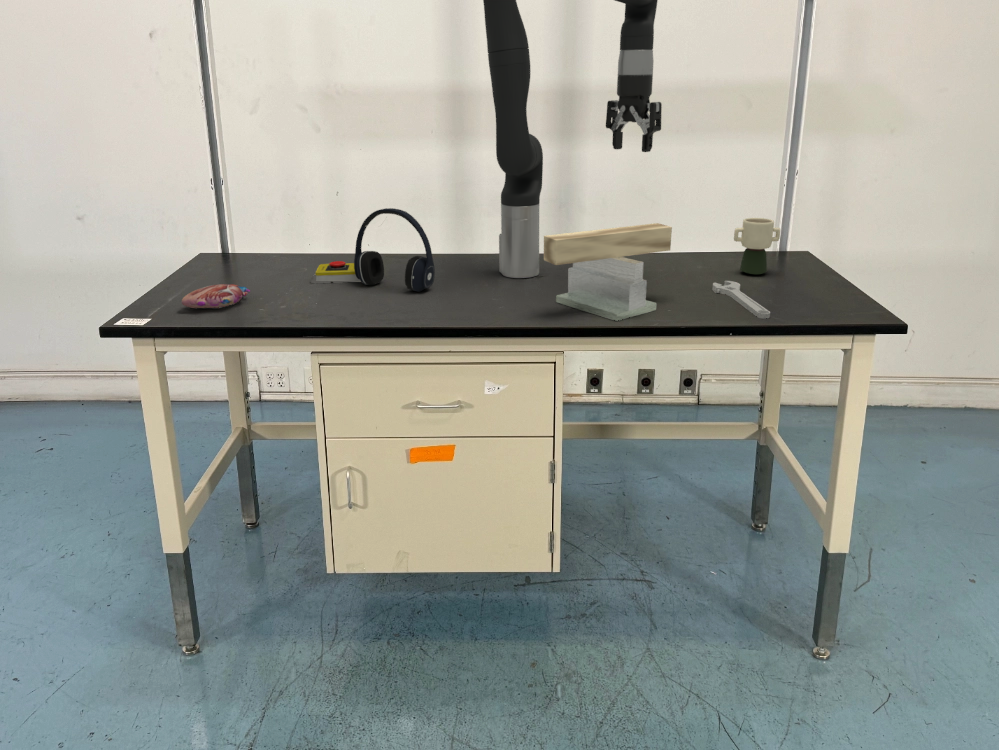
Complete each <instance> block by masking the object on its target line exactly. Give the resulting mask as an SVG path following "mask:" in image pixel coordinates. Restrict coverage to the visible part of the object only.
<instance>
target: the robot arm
mask: <svg viewBox="0 0 999 750" xmlns="http://www.w3.org/2000/svg"><path fill="white" fill-rule="evenodd" d="M482 1H483V13H484V24H485V25H484V26H485V34H486V44H487V45H486V47H487V57H488V58H487V60H488V65H489V66H488V67H489V75H490V81H491V90H492V97H493V98H492V99H493V106H494V111H495V112H494V113H495V148H496V149H495V150H496V152H495V153H496V161H497V163H498V164H497V165H498V166H499V168H500V169H501V171H502V172H504V174H505V177H504V178H505V179H504V184H503V187H502V191H501V193H500V219H501V220H500V226H501V227H500V230H501V233H499V235H498V246H499V247H498V256H499V257H498V258H499V259H498V261H499V264H498V265H499V266H498V267H499V273H501V275H503V276H504V277H507V278H514V279H525V278H533V277H536V276H538V275H539V274H540V199H541V198H540V197H541V192H542V189H543V188H542V186H543V172H544V171H543V170H544V169H543V168H544V156H543V155H544V154H543V152H544V151H543V146H542V144H541V143H540V140H539V139H538V138H537V137H536V136H535V135H533V134H531V133H530V131H529V130H530V129H529V124H528V115H527V105H528V97H529V92H530V91H529V90H530V83H531V56H530V47H529V41H528V37H527V36H528V35H527V31H526V29H525V25H524V21H523V19H522V16H521V13H520V9H519V7H518V2H517V0H482ZM614 1H615V2H618V3H622V4H625V5H624V6H625V8H624V21H623V23H622V25H621V29H620V35H619V36H620V37H619V39H620V40H619V41H620V42H619V54H618V61H617V82H616V95H617V96H618V100H617V99H616V100H615V99H614V100H608V101H607V103H606V115H605V116H606V119H605V128H606V129H610V131H611V132H612V142H611V143H612V148H613V150H622V149H623V140H624V139H623V138H624V137H623V136H624V133H623V130H624V127H625V126H626V125H627V124H628V123H629V122H630V123H636V124H637V125H638V127H640V129H641V131H642V133H643V134H642V141H641V152H643V153H650V152H651V150H652V149H653V141H654V140H653V139H654V137H653V136H654V133H657V132H660V131H661V130H662V108H663V107H662V102H661V101H652V102H651V100H650V97H651V95H652V93H653V79H654V78H653V77H654V40H655V39H654V37H655V36H654V35H655V34H654V33H655V28H654V27H655V19H656V15H657V7H658V2H659V1H658V0H614Z"/></svg>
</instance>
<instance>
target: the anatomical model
mask: <svg viewBox="0 0 999 750" xmlns="http://www.w3.org/2000/svg"><path fill="white" fill-rule="evenodd" d="M250 292H251V290H250V289H248V288H247V287H246V286H240V285H238V284H232V283H227V284H226V283H224V284H223V283H220V284H212V285H207V286H204V287H200V288H197V289H195V290H192V291H191V292H189V293H188V294H186V295H185V296H184V297H182V299H181V305H183V306H184V307H187V308H192V309H197V308H218V309H220V308H219V307H224V308H226V307H225V306H227V307H230V306H229V305H231V306H233V305H235V303H236V304H238V303H239V302H240V301H242V298H243V297H246V296H247V295H248V293H250ZM237 302H238V303H237ZM232 304H233V305H232Z"/></svg>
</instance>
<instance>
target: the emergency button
mask: <svg viewBox="0 0 999 750" xmlns="http://www.w3.org/2000/svg"><path fill="white" fill-rule="evenodd" d="M314 275H316V281H360V279H358V278H357V277H356V275H355V270H354V262H350V263H347V262H345V261H343V260H341V261H340V260H337V261H331V262H329V263H321V264H319V265H318V267H317V269H316V270H315V273H314Z"/></svg>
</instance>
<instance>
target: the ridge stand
mask: <svg viewBox="0 0 999 750" xmlns="http://www.w3.org/2000/svg"><path fill="white" fill-rule="evenodd" d="M567 274H568V275H567V276H568V277H567V278H568V279H567V292H565V293H561V294H557V295H556V296H555V303H558V304H561V305H562V306H566V307H569V308H573V309H576V310H579V311H583V312H585V313H589V314H592V315H595V316H598V317H601V318H605V319H608V320H611V321H614V320H615V321H614V322H619V321H622V319H623V320H626V319H630V318H633V317H635V316H636V317H637V316H640V315H643V314H647V313H651V312H653V311H657V302H654V301H651V300H647V285H648V284H647V283H648V282H647V281H648V280H647V279H644V261H641V260H636V259H632V258H627V257H625V256H623V257H616V258H608V259H600V260H592V261H585V262H577V263H572V267H568V271H567ZM629 317H630V318H629ZM618 320H619V321H618Z"/></svg>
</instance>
